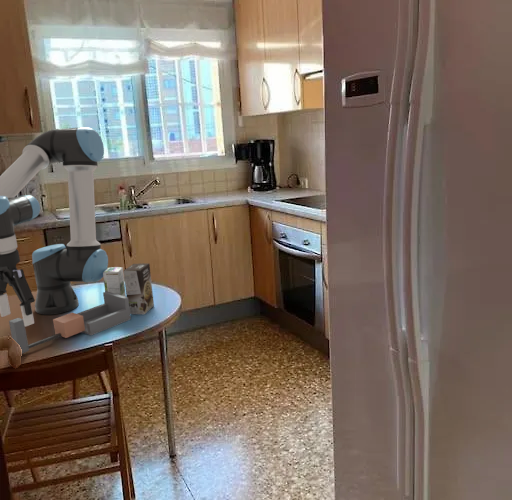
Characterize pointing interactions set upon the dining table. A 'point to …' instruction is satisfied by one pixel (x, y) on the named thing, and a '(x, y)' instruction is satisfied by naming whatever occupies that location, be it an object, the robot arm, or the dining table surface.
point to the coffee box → (139, 288)
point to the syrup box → (114, 280)
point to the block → (62, 327)
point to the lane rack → (106, 313)
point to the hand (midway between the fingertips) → (17, 319)
